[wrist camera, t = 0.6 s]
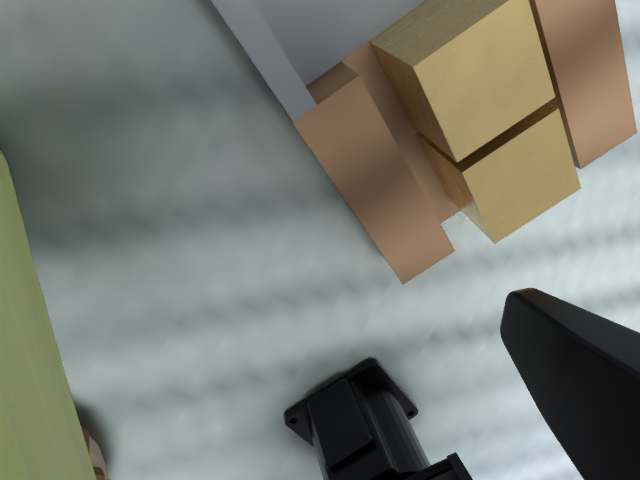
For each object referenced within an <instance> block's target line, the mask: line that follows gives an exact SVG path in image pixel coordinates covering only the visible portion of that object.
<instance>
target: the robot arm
mask: <svg viewBox="0 0 640 480" xmlns="http://www.w3.org/2000/svg"><path fill="white" fill-rule="evenodd" d="M500 333H501V338H502V341H503V343H504V345H505V347H506V349H507V351H508V352H509V354H510V356H511V358H512V360H513V362H514V364H515V366H516V368H517V369H518V371H519V373H520V375H521V377H522V379H523V381H524V383H525V385H526V386H527V388H528V390H529V392H530V394H531V396H532V398H533V400H534V402H535V403H536V405H537V407H538V409H539V411H540V412H541V414H542V416H543V418H544V419H545V421H546V423H547V424H548V426H549V427H550V429H551V430H552V432H553V434H554V435H555V437H556V438H557V440H558V441H559V443H560V444H561V446H562V447H563V449H564V450H565V452H566V453H567V455H568V456H569V458H570V459H571V461H572V462H573V464H574V465H575V467H576V468H577V470H578V471H579V473H580V474H581V476H582V477H583V479H584V480H640V333H639V332H636V331H634V330H631V329H629V328H627V327H624V326H622V325H620V324H617V323H615V322H613V321H610V320H608V319H606V318H603V317H601V316H599V315H596V314H594V313H591V312H589V311H587V310H584V309H582V308H580V307H577V306H575V305H573V304H570V303H568V302H566V301H563V300H561V299H559V298H556V297H554V296H551V295H549V294H547V293H544V292H542V291H540V290H537V289H535V288H526V289H521V290H517V291H512V292H510V293H509V294H508V296H507V298H506V302H505V306H504V311H503V316H502V321H501V326H500ZM417 413H418V409H417V407H416V405H415V404H414V403H413V402H412V400H411V399H410V398H409V397H408V396H407V395H406V393H405V392H404V391H403V390H402V389H401V388H400V386H399V385H398V384H397V383H396V382H395V381H394V380H393V378H392V377H391V376H390V375H389V374H388V373H387V371H386V370H385V369H384V368H383V367H382V366H381V364H380V363H379V362H378V361H377V360H374V359H372V360H368V361H366V362H365V363H363V364H362V365H360V366H358V367H357V368H355V369H354V370H352V371H351V372H349V373H347V374H346V375H344V376H343V377H341V378H340V379H338V380H336V381H335V382H333V383H332V384H330V385H329V386H327V387H325V388H324V389H322V390H321V391H319V392H318V393H316V394H314V395H313V396H311V397H310V398H308V399H307V400H305V401H303V402H302V403H300V404H299V405H297V406H296V407H294V408H292V409H291V410H289V411H288V412H286V413H285V415H284V420H285V424H286V425H287V426H288V427H289V428H290V429H292V430H293V431H294V432H295V433H297V434H298V435H299V436H301V437H302V438H303V439H304V440H306V441H307V442H308V443H309V444H311V445H312V446H313V447H314V448H315V451H316V455H317V458H318V462H319V465H320V469H321V472H322V476H323V479H324V480H473V479H472V478H471V476H470V474H469V473H468V471H467V470H466V468H465V466H464V465H463V463H462V461H461V460H460V458H459V456H458V455H457V453H456V452H455V453H453V454H450V455H448V456H446V457H447V458H446V459H444V460H442V461H440V462H438V463H435V464H433V465H430V463H429V461H428V459H427V457H426V455H425V453H424V451H423V449H422V447H421V445H420V443H419V440H418V438H417V436H416V434H415V432H414V430H413V428H412V426H411V424H410V422H409V420H410V419H411V418H413V417H414V416H416V415H417Z"/></svg>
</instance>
